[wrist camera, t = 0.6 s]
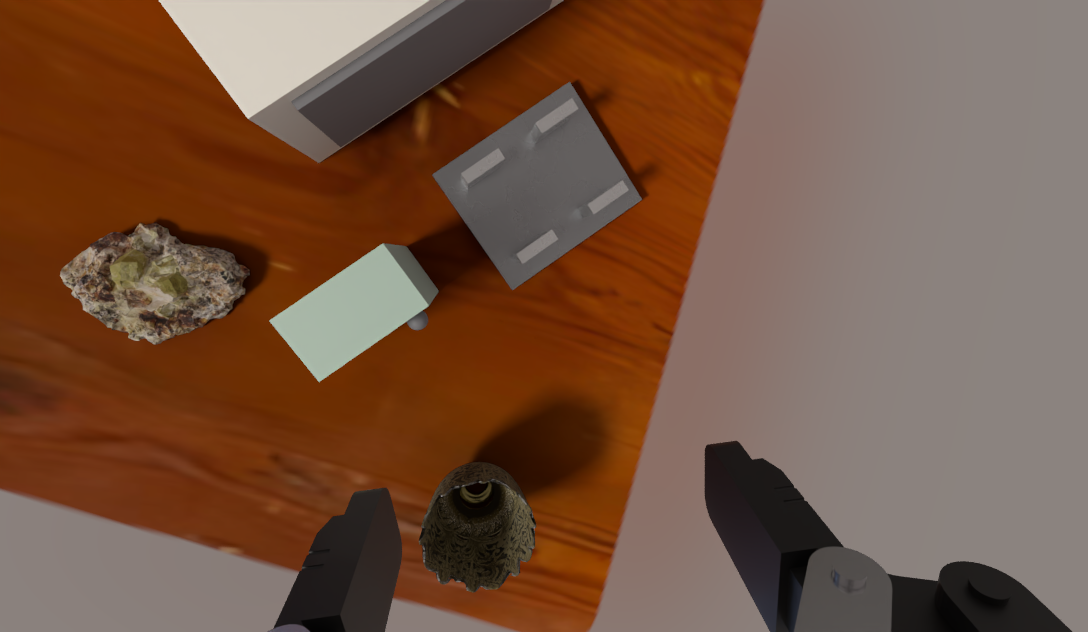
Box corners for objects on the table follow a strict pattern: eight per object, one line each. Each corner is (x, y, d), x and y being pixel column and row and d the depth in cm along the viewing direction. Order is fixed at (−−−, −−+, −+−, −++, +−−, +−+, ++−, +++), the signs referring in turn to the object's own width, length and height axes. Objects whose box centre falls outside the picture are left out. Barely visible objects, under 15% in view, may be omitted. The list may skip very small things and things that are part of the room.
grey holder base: (432, 176, 37) (429, 167, 33) (567, 85, 38) (578, 66, 34) (511, 289, 39) (516, 293, 35) (638, 200, 40) (656, 195, 36)
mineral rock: (72, 360, 33) (23, 238, 30) (110, 332, 37) (71, 222, 34) (252, 345, 35) (223, 229, 32) (270, 320, 39) (246, 215, 36)
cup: (538, 458, 41) (556, 506, 33) (500, 540, 41) (508, 607, 33) (451, 424, 40) (448, 466, 32) (412, 509, 40) (400, 572, 32)
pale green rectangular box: (325, 301, 37) (269, 320, 26) (406, 246, 38) (382, 243, 27) (368, 356, 38) (331, 396, 27) (446, 301, 38) (440, 320, 28)
